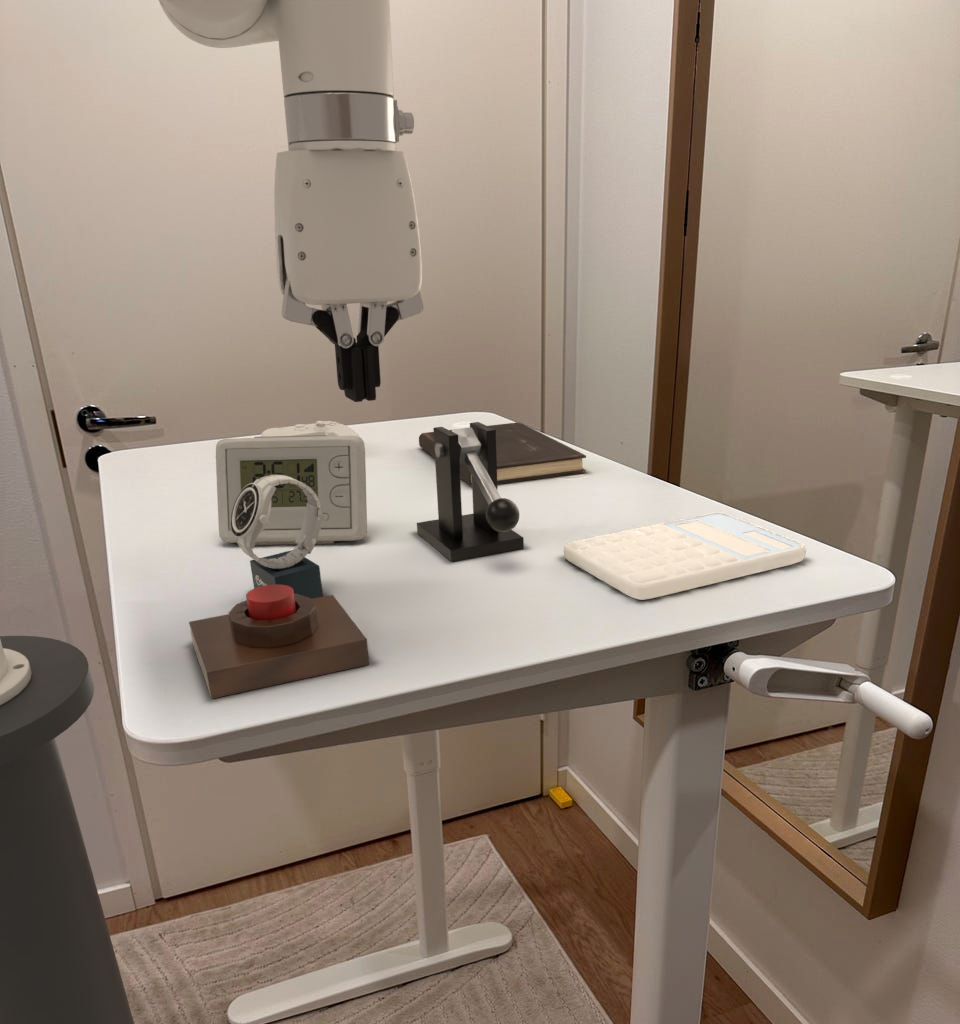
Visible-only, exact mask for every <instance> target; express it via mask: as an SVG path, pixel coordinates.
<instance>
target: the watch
mask: <svg viewBox="0 0 960 1024" xmlns="http://www.w3.org/2000/svg"><path fill="white" fill-rule="evenodd" d="M279 483H280V484H286V483H291V484H296V485H297V486H299V487H300V488H301V489H303V492H304V494H305V495H306V496H307V500H308V503H307V511H305V515H304V520H303V525H302V528H301V531H300V533H299V535H298V538H297V540H296V542H295V543H296V544H295V545H296V546H295V547H294V548H293V549H292V550H288V551H287V550H286V551H284V552H280V553H275V554H271V555H266V556H264V557H259V556H257V555H256V554H255V553H254V551H253V550H254V549H255V547H256V545H255V542H256V538H257V537H258V536H259V535H260V534H261V532H262V531H263V530H264V528H265V526H266V524H267V523H268V522H269V516H270V512H271V498H272V496H273V494H274V492H275V490H276V487H274V486H276V485H279ZM322 518H323V514H322V513H321V505H320V501H319V499H318V497H317V495H316V494H315V492H314V491H313V490H312V489H311V488H310V487H309V486H307V485H306V484H304V483H302V482H300V481H298V480H296V479H293V478H291V477H288V476H285V475H270V476H265V477H262V478H260V479H257V480H256V481H255V482H254V483H250V484H248V485H246V486H245V487H244V488H243V489H242V490H241V492H240V493H239V495H238V497H237V499H236V501H235V503H234V506H233V509H232V514H231V531H232V533H233V535H234V536H235V539H236V540H237V542H236V543H237V545H238V547H239V548H240V549H241V551H242V552H243V553H244V554H246V556H248V557H249V558H251V560H249V563H250V571H251V576H252V577H251V578H252V583H253V589H255V588H257V587H261V586H265V585H274V584H279V585H286V586H289V587H291V588H292V589H293V591H294V594H299V595H302V596H306V597H309V598H311V599H313V598H318V597H324V593H323V585H322V577H321V569H320V567H321V566H320V565H318V564H317V563H315V562H314V561H312V560H310V559H309V558H307V557H306V556H307V555H310V554H311V553H312V551H313V549H314V548H315V546H316V544H315V543H316V541H317V538H318V536H319V532H320V529H321V524H322Z"/></svg>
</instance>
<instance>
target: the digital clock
mask: <svg viewBox="0 0 960 1024" xmlns="http://www.w3.org/2000/svg"><path fill="white" fill-rule="evenodd" d="M215 470H216V471H215V472H216V494H217V495H216V496H217V497H216V498H217V518H218V519H217V520H218V521H217V523H218V534H219V537H220V539H221V541H223V542H225V543H232V544H233V543H237V540H236V539H235V536H234V535H233V533H232V531H231V514H232V509H233V506H234V503H235V501H236V499H237V497H238V495H239V493H240V492H241V490H242V489H243V488H244V487H245V486H246V485H248V484H250V483H254V482H255V481H256V480H257V479H260V478H262V477H265V476H270V475H285V476H288V477H291V478H293V479H296V480H298V481H300V482H302V483H304V484H306V485H307V486H309V487H310V488H311V489H312V490H313V491H314V492H315V494H316V495H317V497H318V499H319V501H320V505H321V513H322V514H323V518H322V524H321V529H320V532H319V536H318V538H317V541H316V543H315V545H334V544H335V543H336V542H342V541H343V542H347V541H349V542H350V541H351V542H355V541H360V540H363V539H364V538H366V536H367V532H368V513H367V512H368V510H367V509H368V508H367V507H368V506H367V473H366V472H367V471H366V447H365V442H364V439H363V438H362V437H361V436H359V437H358V436H326V435H310V436H268V437H261V436H254V437H236V438H234V437H231V438H229V437H228V438H222V439H219V440H218V441H217V443H216V445H215ZM274 487H276V490H275V492H274V494H273V496H272V498H271V512H270V516H269V522H268V523H267V524H266V526H265V528H264V530H263V531H262V532H261V534H260V535H259V536H258V537H257V538H256V542H255V546H267V545H268V546H270V545H271V546H275V545H279V546H281V545H297V544H296V543H295V542H296V540H297V538H298V535H299V533H300V531H301V528H302V525H303V520H304V515H305V511H307V503H308V500H307V496H306V495H305V494H304V492H303V489H301V488H300V487H299V486H297V485H296V484H291V483H286V484H280V483H279V485H276V486H274Z"/></svg>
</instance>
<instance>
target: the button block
mask: <svg viewBox="0 0 960 1024" xmlns="http://www.w3.org/2000/svg"><path fill="white" fill-rule="evenodd" d="M294 598H295V606H296V613H294V614H292V615H290V616H288V617H285V618H281V619H276V620H255V619H252V618H250V617H249V612H248V605H247V599H245V600H243V601H241V602H239V603H236V604H235V605H234V606H233V607H232V608H231V609H230V610H229V611H228V614H223V615H218V616H217V615H216V616H213V617H207V618H202V619H197V620H192V621H188V625H189V629H190V635H191V640H192V647H193V648H194V651H195V652H194V653H195V654H196V658H197V660H198V663H199V666H200V670H201V672H202V675H203V678H204V681H205V684H206V687H207V690H208V692H209V693H208V694H209V695H210V699H212V700H213V699H217V698H221V697H226V696H227V697H228V696H231V695H235V694H240V693H245V692H249V691H254V690H259V689H263V688H268V687H273V686H277V685H282V684H287V683H291V682H295V681H300V680H304V679H310V678H313V677H318V676H323V675H327V674H332V673H337V672H341V671H345V670H350V669H354V668H359V667H365V666H369V665H370V658H369V657H370V655H369V647H368V646H369V645H368V639H367V637H366V636H365V635H364V634H363V632H362V631H361V630H360V628H359V627H358V626H357V624H356V623H355V622H354V620H353V619H352V618H351V616H349V614H348V613H347V611H346V610H345V608H343V606H342V605H341V603H340V602H339V601H338V600H337V598H336V597H335V596H334V594H329V595H323V597H318V598H313V599H311V598H309V597H306V596H302V595H299V594H294Z"/></svg>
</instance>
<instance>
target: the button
mask: <svg viewBox="0 0 960 1024" xmlns="http://www.w3.org/2000/svg"><path fill="white" fill-rule="evenodd" d="M245 598H246V599H245V600H247V605H248V612H249V617H250V618H252V619H255V620H276V619H281V618H285V617H288V616H290V615H292V614H294V613H296V606H295V598H294V591H293V589H292V588H291V587H289V586H286V585H279V584H274V585H265V586H261V587H257V588H255V589H254V588H253V589H251V590H249V591H248V592H247V593H246V595H245Z"/></svg>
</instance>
